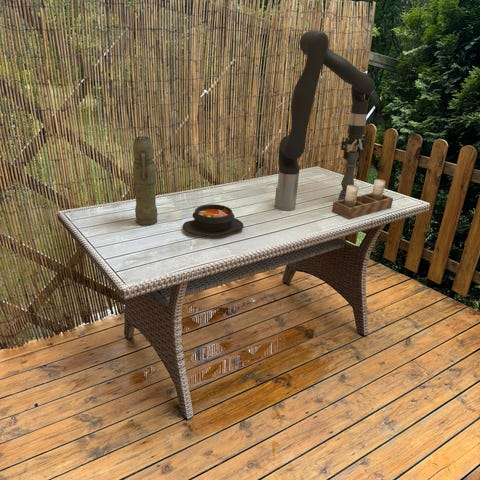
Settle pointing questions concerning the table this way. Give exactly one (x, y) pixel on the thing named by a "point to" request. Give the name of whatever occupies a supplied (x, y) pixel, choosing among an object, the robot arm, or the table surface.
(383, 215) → the table surface
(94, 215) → the table surface
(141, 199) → the carved stone statue
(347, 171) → the candle holder
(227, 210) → the casserole
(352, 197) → the wooden candle tray
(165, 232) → the table surface
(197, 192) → the table surface
